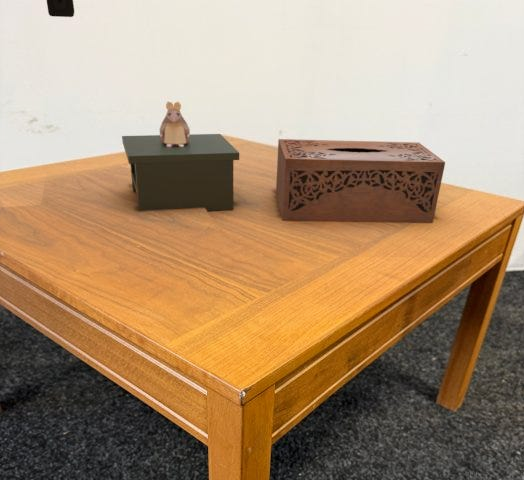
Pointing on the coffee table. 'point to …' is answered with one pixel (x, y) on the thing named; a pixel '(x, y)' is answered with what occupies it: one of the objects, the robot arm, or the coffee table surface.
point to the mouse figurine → (174, 127)
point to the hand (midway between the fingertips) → (62, 15)
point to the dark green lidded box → (182, 172)
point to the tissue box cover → (357, 181)
